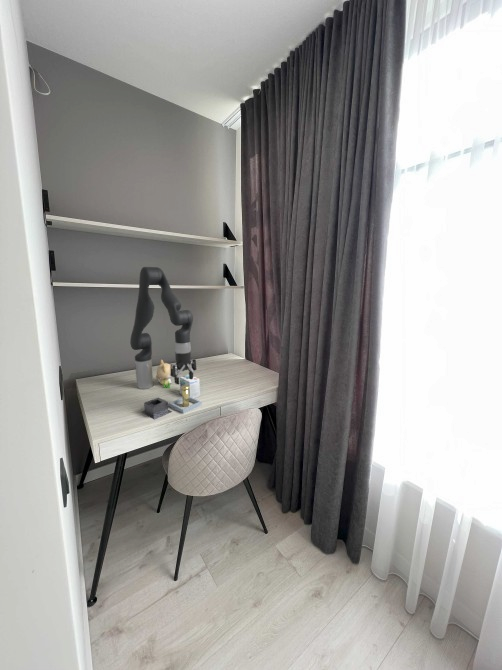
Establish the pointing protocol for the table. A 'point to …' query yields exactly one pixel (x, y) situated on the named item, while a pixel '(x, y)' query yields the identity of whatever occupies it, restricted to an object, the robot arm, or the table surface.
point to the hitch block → (156, 408)
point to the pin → (185, 395)
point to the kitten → (164, 374)
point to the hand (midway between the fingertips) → (184, 381)
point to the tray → (197, 404)
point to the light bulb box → (191, 386)
